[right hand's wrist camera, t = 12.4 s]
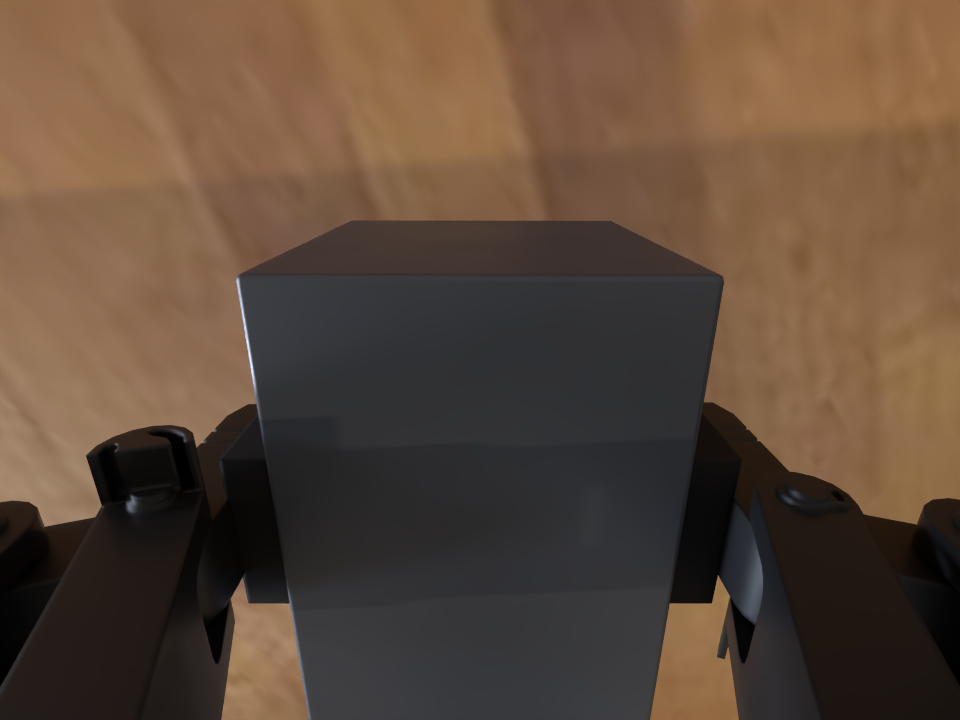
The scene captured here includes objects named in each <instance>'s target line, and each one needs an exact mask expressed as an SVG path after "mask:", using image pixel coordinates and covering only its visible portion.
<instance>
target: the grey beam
mask: <svg viewBox="0 0 960 720" xmlns="http://www.w3.org/2000/svg"><path fill="white" fill-rule="evenodd" d="M236 283H237V289H238V295H239V301H240V307H241V313H242V319H243V325H244V331H245V337H246V343H247V349H248V355H249V361H250V367H251V373H252V379H253V385H254V391H255V397H256V403H257V409H258V415H259V421H260V427H261V433H262V439H263V445H264V451H265V457H266V463H267V469H268V475H269V481H270V487H271V493H272V499H273V505H274V511H275V517H276V523H277V529H278V535H279V541H280V547H281V553H282V559H283V565H284V571H285V577H286V583H287V589H288V595H289V602H290V608H291V614H292V620H293V626H294V632H295V638H296V644H297V650H298V656H299V662H300V668H301V674H302V680H303V686H304V692H305V698H306V704H307V710H308V716H309V720H650V716H651V710H652V704H653V698H654V692H655V686H656V681H657V675H658V669H659V663H660V657H661V651H662V645H663V639H664V633H665V627H666V621H667V616H668V610H669V604H670V598H671V592H672V586H673V580H674V574H675V568H676V562H677V556H678V551H679V545H680V539H681V533H682V527H683V521H684V515H685V509H686V503H687V497H688V491H689V485H690V480H691V474H692V468H693V462H694V456H695V450H696V444H697V438H698V432H699V426H700V420H701V415H702V409H703V403H704V397H705V391H706V385H707V379H708V373H709V367H710V361H711V355H712V350H713V344H714V338H715V332H716V326H717V320H718V314H719V308H720V302H721V296H722V290H723V284H724V280H723V276H721V275H719V274H717V273H715V272H713V271H711V270H709V269H707V268H705V267H703V266H701V265H699V264H697V263H695V262H693V261H690V260H688V259H686V258H684V257H682V256H680V255H678V254H676V253H674V252H672V251H670V250H668V249H666V248H664V247H662V246H660V245H658V244H656V243H654V242H652V241H650V240H648V239H646V238H644V237H642V236H640V235H638V234H636V233H634V232H632V231H630V230H628V229H625V228H623V227H621V226H619V225H617V224H615V223H613V222H611V221H350V222H348V223H346V224H344V225H342V226H340V227H338V228H336V229H333V230H331V231H329V232H327V233H325V234H323V235H321V236H319V237H317V238H315V239H312V240H310V241H308V242H306V243H304V244H302V245H300V246H298V247H296V248H294V249H291V250H289V251H287V252H285V253H283V254H281V255H279V256H277V257H275V258H273V259H270V260H268V261H266V262H264V263H262V264H260V265H258V266H256V267H254V268H252V269H249V270H247V271H245V272H243V273H241V274H239V275H238V276H237V280H236Z"/></svg>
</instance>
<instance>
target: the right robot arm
mask: <svg viewBox="0 0 960 720" xmlns="http://www.w3.org/2000/svg"><path fill="white" fill-rule="evenodd" d="M86 457H87V460H88V463H89V466H90V470H91V473H92V476H93V479H94V482H95V485H96V488H97V492H98V495H99V498H100V501H101V504H102V507H101V509H100V510H99V512H98V514H97V516H96V517H94V518H90V519H84V520H79V521H74V522H68V523H63V524H58V525H52V526H47V527H44V524H43V522H42V519H41V516H40V514H39V511H38V508H37V507H35V506H34V505H32V504H31V503H29V502H22V501H7V502H0V720H221V718H222V710H223V703H224V696H225V689H226V682H227V675H228V667H229V660H230V653H231V646H232V639H233V632H234V624H235V620H234V612H233V608H232V603H231V597H232V595H233V593H234V592H235V590H236V588H237V586H238V584H239V583H240V581H241V579H242V577H243V579H244V584H245V588H246V593H247V598H248V603H290V602H289V595H288V589H287V583H286V577H285V571H284V565H283V559H282V553H281V547H280V541H279V535H278V529H277V523H276V517H275V511H274V505H273V499H272V493H271V487H270V481H269V475H268V469H267V463H266V457H265V451H264V445H263V439H262V433H261V427H260V421H259V415H258V409H257V404H248V405H246V406H244V407H243V408H241V409H239V410H237V411H235V412H233V413H232V414H230V415H228V416H227V417H226V418H225V419H224V420H223V421H222V422H221V423H220V424H219V425H218V426H217V427H216V428H215V432H211V434H210V435H209V436H208V437H207V438H206V439H205V440H204V443H201V444H200V445H199V446H198V447H197V448H196V445H195V440H194V436H193V433H192V432H191V431H189V430H188V429H186V428H185V427H179V426H173V425H165V426H151V427H146V428H141V429H136V430H132V431H129V432H126V433H123V434H120V435H118V436H115V437H112V438H110V439H109V440H107V441H105V442H103V443H101V444H99V445H97V446H96V447H95V448H94V449H93V450H92V451H91V452H89V453H88V454H87V455H86ZM718 575H719V577H720V579H721V581H722V583H723V584H724V586H725V588H726V590H727V591H728V593H729V595H730V599H729V603H728V608H727V612H726V616H725V621H724V625H723V630H722V634H721V638H720V643H719V648H718V655H717V657H719V658H723V659H725V656H726V651H727V648H728V647H729V652H730V659H731V666H732V673H733V680H734V687H735V695H736V702H737V709H738V716H739V720H960V500H958V499H950V498H946V499H935V500H931V501H930V502H928V503H927V504H925V505H924V507H923V510H922V512H921V515H920V518H919V520H918V523H917V525H916V524H911V523H905V522H900V521H895V520H889V519H884V518H879V517H873V516H868V515H864V514H863V513H862V511H861V509H860V508H859V506H858V504H857V503H856V502H855V501H854V500H853V499H852V498H851V497H850V496H849V494H847V493H846V492H844V491H842V490H841V489H839V488H838V487H836V486H835V485H833V484H831V483H828V482H826V481H823V480H821V479H819V478H816V477H813V476H809V475H805V474H801V473H797V472H789V471H788V470H787V469H786V468H785V467H784V466H783V465H782V464H781V463H780V462H779V461H778V460H777V459H776V457H775V456H774V455H773V454H772V453H771V452H770V451H769V450H768V449H767V448H766V447H765V446H764V445H763V444H762V443H761V442H760V441H757V438H756V437H755V436H754V435H753V434H752V433H751V432H750V431H749V430H746V426H745V425H744V424H743V423H742V422H741V421H740V420H739V419H738V418H737V417H736V416H735V415H734V414H733V413H731V412H729V411H727V410H725V409H723V408H722V407H720V406H718V405H716V404H714V403H703V409H702V415H701V420H700V426H699V432H698V438H697V444H696V450H695V456H694V462H693V468H692V474H691V480H690V485H689V491H688V497H687V503H686V509H685V515H684V521H683V527H682V533H681V539H680V545H679V551H678V556H677V562H676V568H675V574H674V580H673V586H672V592H671V598H670V603H712V600H713V595H714V591H715V586H716V581H717V576H718Z"/></svg>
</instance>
